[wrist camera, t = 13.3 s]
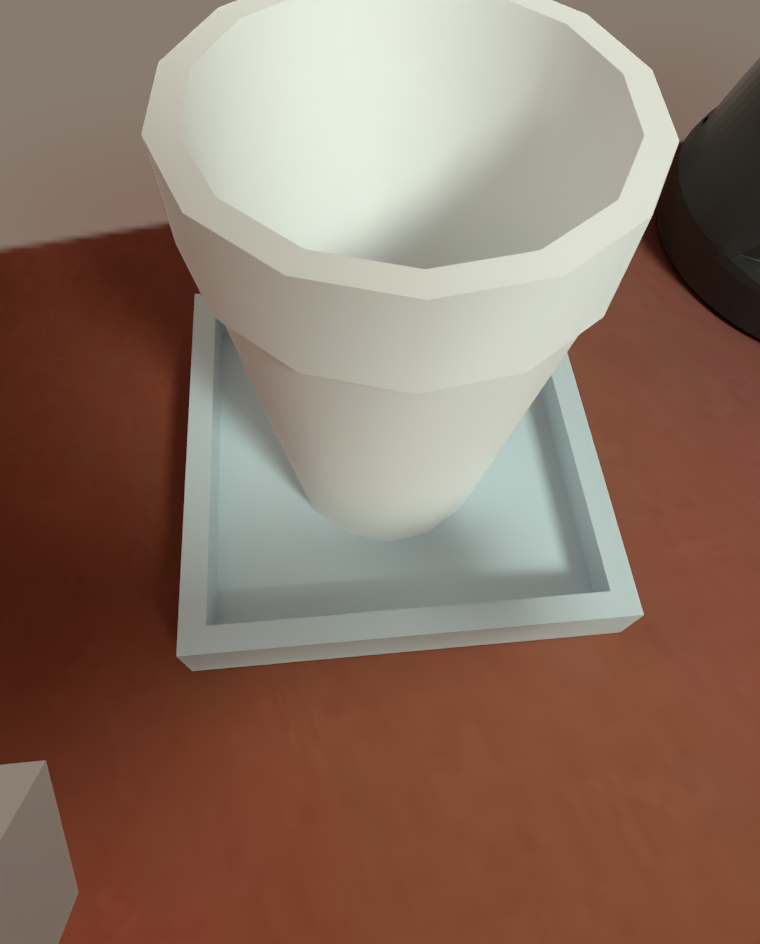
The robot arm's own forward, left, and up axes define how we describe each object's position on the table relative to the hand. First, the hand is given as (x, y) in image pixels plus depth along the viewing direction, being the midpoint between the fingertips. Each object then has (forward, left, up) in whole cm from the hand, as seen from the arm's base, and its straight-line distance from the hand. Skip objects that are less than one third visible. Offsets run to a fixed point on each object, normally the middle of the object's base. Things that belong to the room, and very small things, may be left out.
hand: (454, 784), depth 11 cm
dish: (0, -11, -9) cm, 14 cm away
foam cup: (0, -11, -8) cm, 14 cm away
